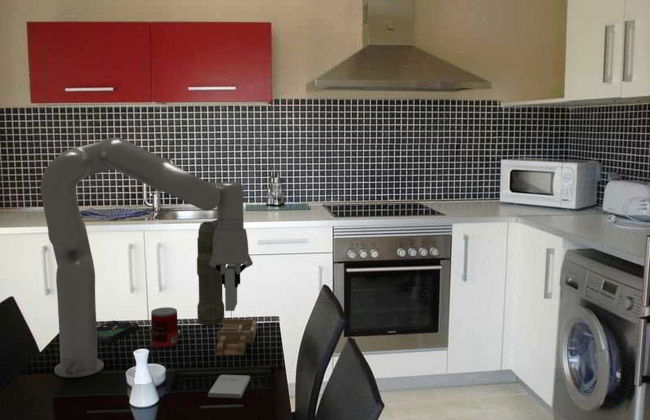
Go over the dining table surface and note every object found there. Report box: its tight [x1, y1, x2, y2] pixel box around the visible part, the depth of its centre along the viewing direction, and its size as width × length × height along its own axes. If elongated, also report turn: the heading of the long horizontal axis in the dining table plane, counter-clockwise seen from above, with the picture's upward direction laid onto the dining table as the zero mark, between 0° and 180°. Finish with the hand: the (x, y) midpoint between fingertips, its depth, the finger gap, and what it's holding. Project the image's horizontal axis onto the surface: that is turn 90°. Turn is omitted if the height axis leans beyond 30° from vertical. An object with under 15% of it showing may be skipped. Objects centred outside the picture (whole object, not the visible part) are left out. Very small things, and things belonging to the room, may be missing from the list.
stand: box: [215, 336, 247, 356], centre depth 191 cm, size 10×8×4 cm
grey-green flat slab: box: [224, 264, 238, 312], centre depth 189 cm, size 9×2×12 cm, turn 2°
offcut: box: [221, 324, 236, 331], centre depth 200 cm, size 5×4×2 cm
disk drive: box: [96, 320, 139, 344], centre depth 208 cm, size 10×3×15 cm
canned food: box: [150, 306, 179, 349], centre depth 196 cm, size 8×8×11 cm
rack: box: [216, 318, 258, 345], centre depth 204 cm, size 14×11×4 cm
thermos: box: [196, 221, 225, 326], centre depth 217 cm, size 9×12×35 cm
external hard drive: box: [207, 374, 251, 399], centre depth 165 cm, size 2×8×12 cm
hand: (231, 286), depth 189 cm, fingers closed on grey-green flat slab, 2 cm apart
